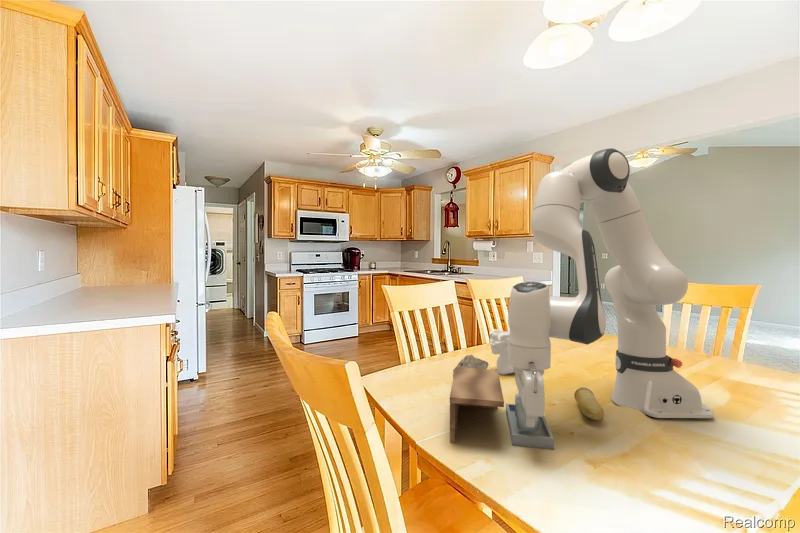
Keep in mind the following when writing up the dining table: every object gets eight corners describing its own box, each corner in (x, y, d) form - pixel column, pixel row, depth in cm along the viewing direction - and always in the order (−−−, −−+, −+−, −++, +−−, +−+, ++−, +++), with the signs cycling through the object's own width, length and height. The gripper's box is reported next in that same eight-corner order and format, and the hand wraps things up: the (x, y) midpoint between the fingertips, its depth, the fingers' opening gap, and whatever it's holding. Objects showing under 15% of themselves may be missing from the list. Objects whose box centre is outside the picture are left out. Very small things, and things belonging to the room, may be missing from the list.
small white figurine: (526, 376, 121) (526, 331, 121) (500, 381, 116) (500, 334, 116) (505, 368, 130) (506, 327, 130) (480, 372, 125) (481, 329, 125)
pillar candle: (536, 423, 81) (536, 401, 81) (539, 432, 77) (539, 409, 76) (515, 421, 82) (516, 399, 82) (517, 430, 77) (518, 407, 77)
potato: (573, 403, 98) (573, 385, 98) (595, 405, 97) (595, 387, 97) (581, 425, 85) (581, 404, 85) (606, 429, 83) (606, 407, 83)
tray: (539, 414, 91) (539, 406, 91) (554, 449, 74) (554, 438, 74) (505, 411, 93) (505, 403, 92) (512, 445, 76) (512, 434, 76)
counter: (497, 407, 95) (497, 369, 95) (503, 450, 74) (503, 401, 74) (455, 404, 98) (455, 367, 97) (449, 444, 76) (449, 397, 76)
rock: (462, 385, 104) (468, 351, 108) (448, 384, 110) (454, 351, 113) (493, 395, 109) (498, 361, 113) (479, 393, 115) (483, 361, 118)
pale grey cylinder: (532, 414, 90) (532, 394, 90) (535, 421, 86) (535, 400, 85) (514, 412, 91) (514, 392, 91) (516, 420, 86) (516, 399, 86)
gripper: (553, 372, 68) (552, 444, 68) (536, 347, 88) (536, 403, 88) (518, 369, 69) (517, 441, 70) (509, 345, 89) (509, 401, 90)
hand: (528, 419), depth 79 cm, fingers closed on pillar candle, 4 cm apart
